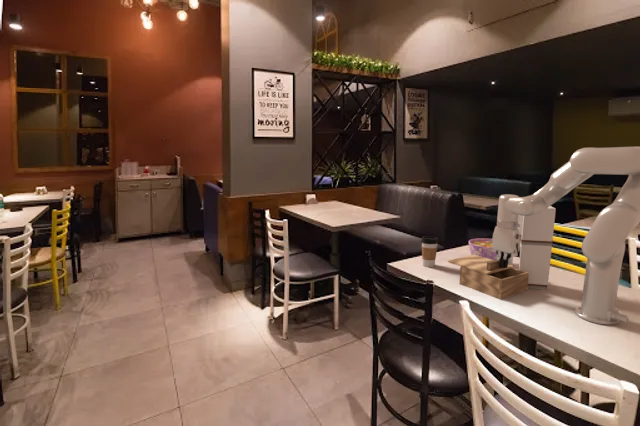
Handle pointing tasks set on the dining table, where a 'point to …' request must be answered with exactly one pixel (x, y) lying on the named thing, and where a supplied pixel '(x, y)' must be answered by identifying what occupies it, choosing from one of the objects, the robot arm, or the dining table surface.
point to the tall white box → (536, 246)
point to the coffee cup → (429, 250)
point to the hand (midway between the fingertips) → (503, 267)
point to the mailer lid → (479, 264)
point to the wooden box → (496, 282)
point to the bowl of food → (482, 248)
